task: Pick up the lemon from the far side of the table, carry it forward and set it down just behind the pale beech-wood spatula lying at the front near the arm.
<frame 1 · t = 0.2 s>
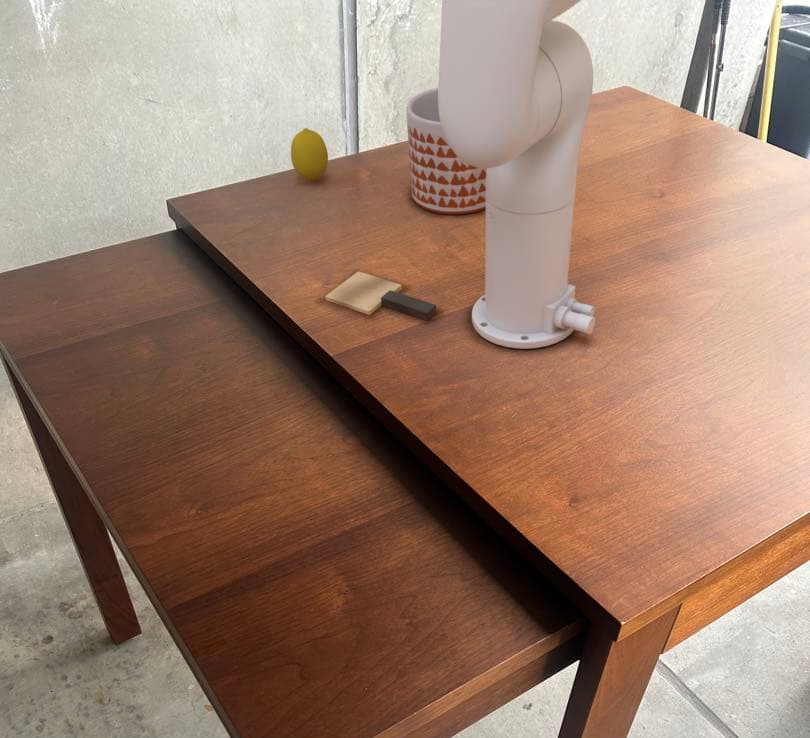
lemon: (313, 183, 133), on the table
planter: (457, 195, 127), on the table
spatula: (386, 301, 108), on the table
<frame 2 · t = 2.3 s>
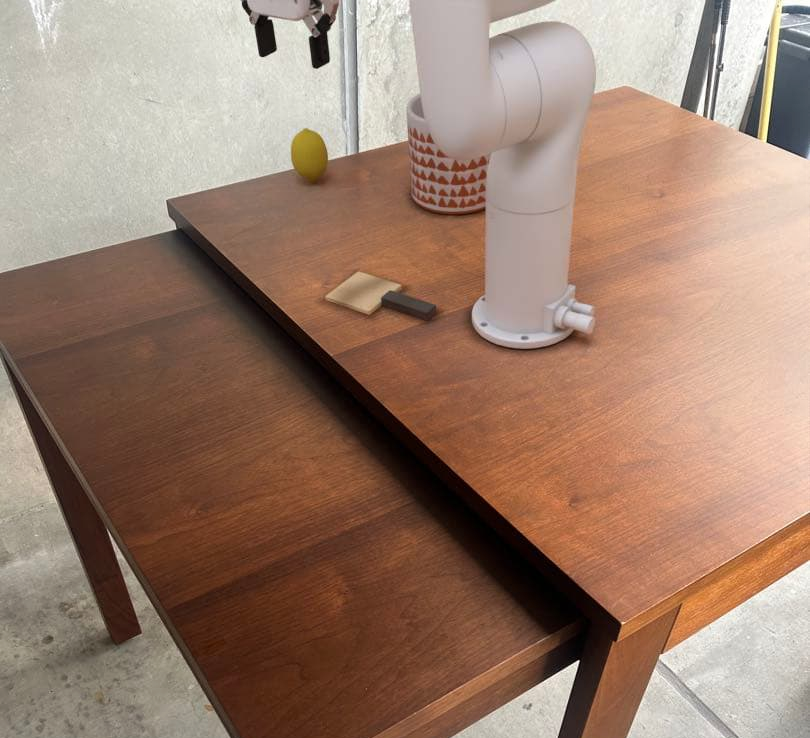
hand: (294, 59, 121), 17 cm above the table, tool pointing down, fingers open, 9 cm apart
nothing on the table moved.
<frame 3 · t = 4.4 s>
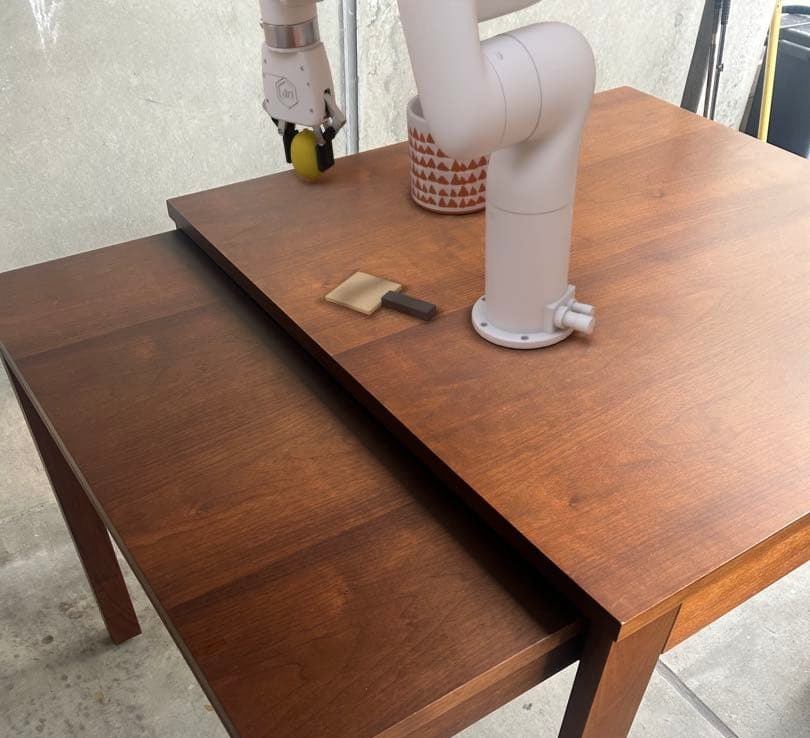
hand: (310, 163, 131), 3 cm above the table, tool pointing down, fingers closed on lemon, 5 cm apart
lemon: (313, 183, 133), on the table, touching gripper
everything else where it was.
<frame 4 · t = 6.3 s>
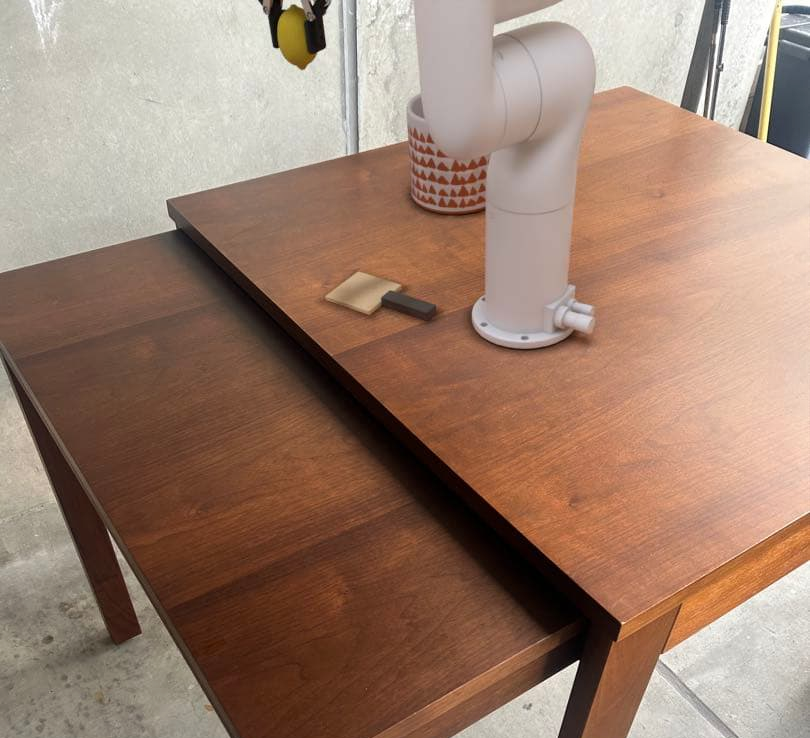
hand: (299, 46, 118), 19 cm above the table, tool pointing down, fingers closed on lemon, 5 cm apart
lemon: (303, 71, 120), point 16 cm above the table, touching gripper
everything else where it was.
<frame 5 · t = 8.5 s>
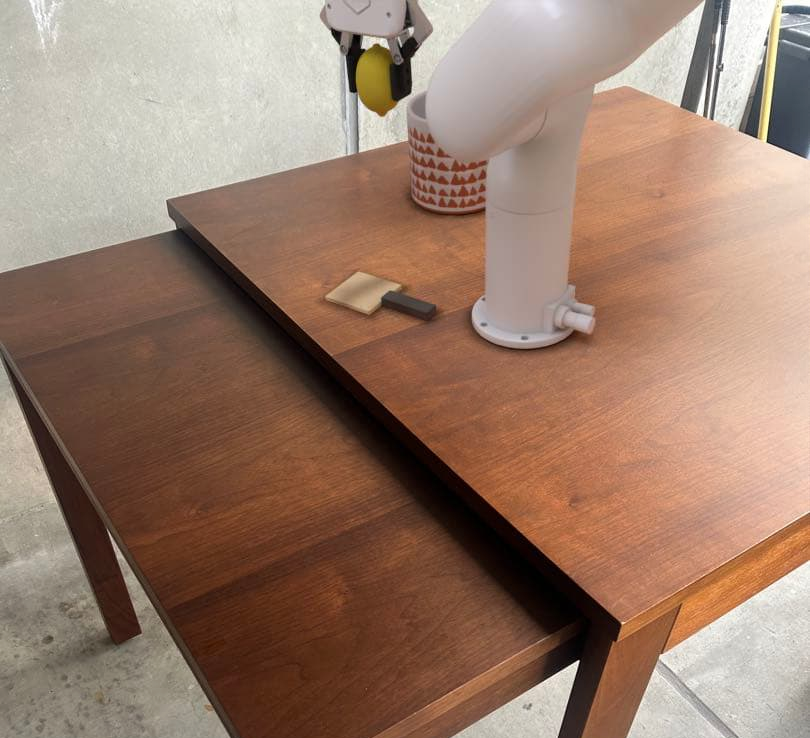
hand: (380, 91, 102), 20 cm above the table, tool pointing down, fingers closed on lemon, 5 cm apart
lemon: (382, 118, 105), point 17 cm above the table, touching gripper
everything else where it was.
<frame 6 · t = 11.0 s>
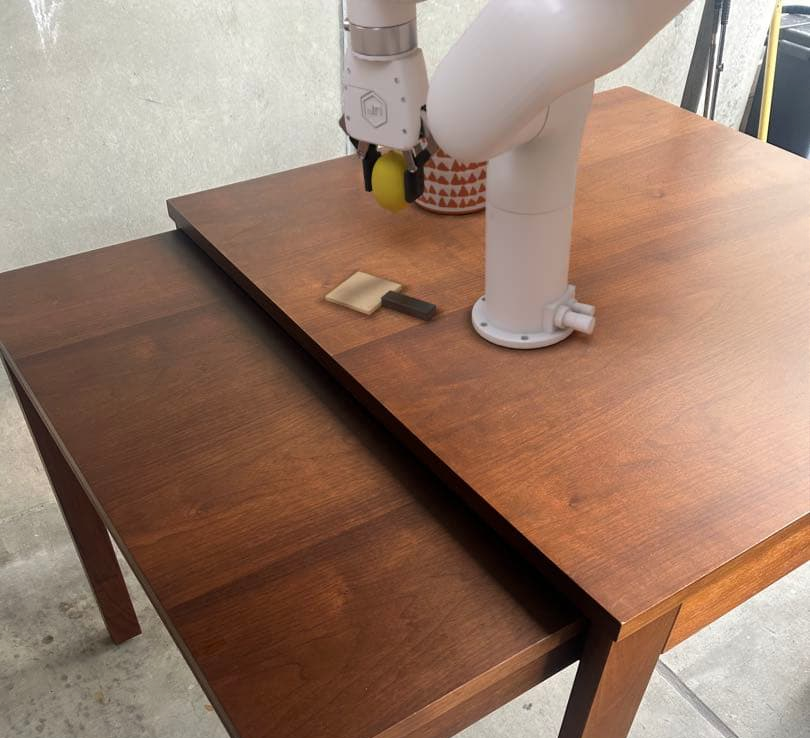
hand: (394, 191, 110), 9 cm above the table, tool pointing down, fingers closed on lemon, 5 cm apart
lemon: (395, 214, 112), point 6 cm above the table, touching gripper
everything else where it was.
when the fingers open (3 cm above the table, at t = 12.9 s): lemon stays where it is, on the table.
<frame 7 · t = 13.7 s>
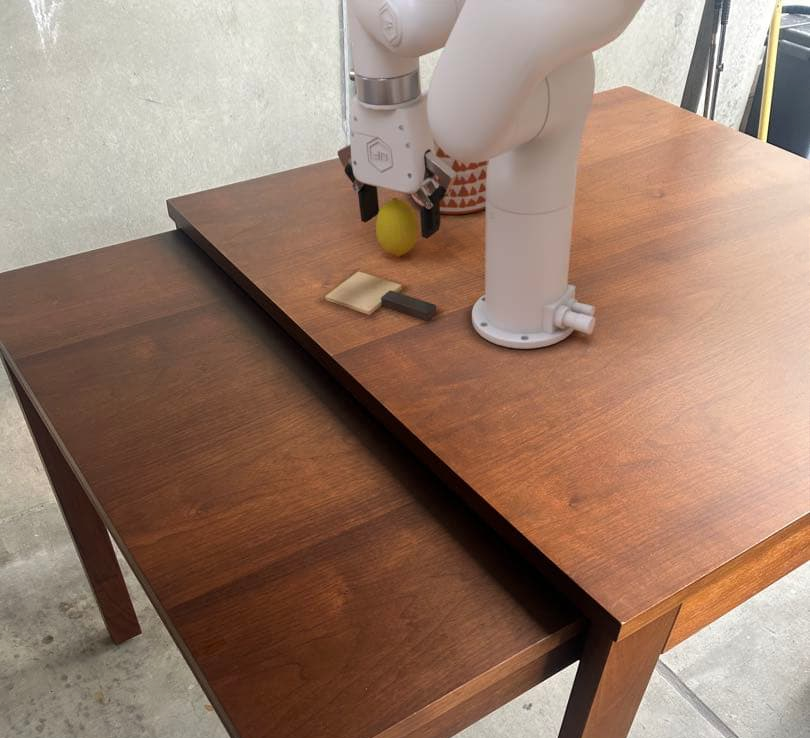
hand: (400, 225, 112), 5 cm above the table, tool pointing down, fingers open, 9 cm apart
lemon: (399, 257, 116), on the table
everything else where it was.
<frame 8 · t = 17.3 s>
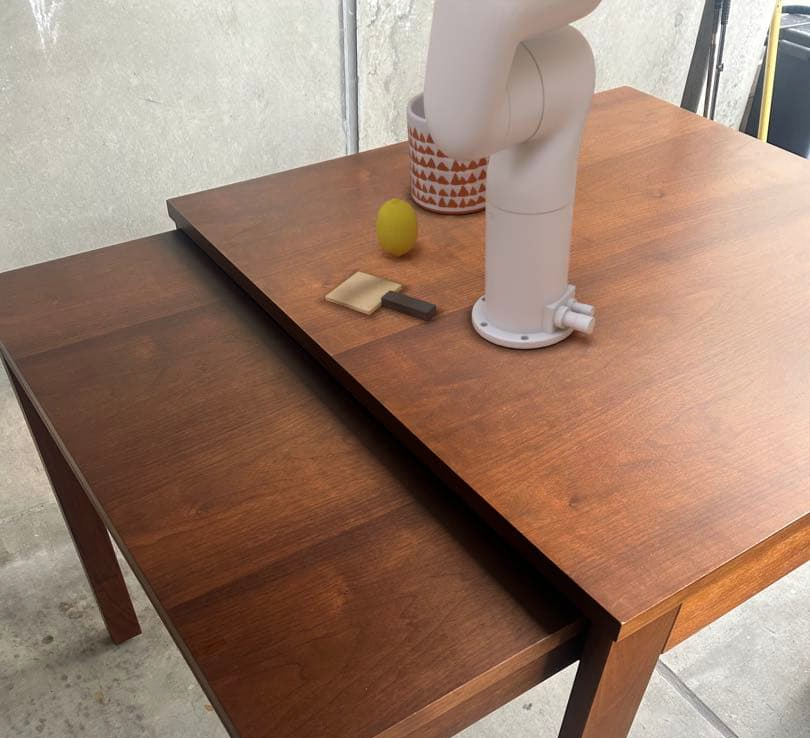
nothing on the table moved.
at the end: lemon inside the target area on the table beside the spatula (0.5 cm from its centre), on the table; the gripper is holding nothing; spatula moved 0.0 cm from its start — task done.
